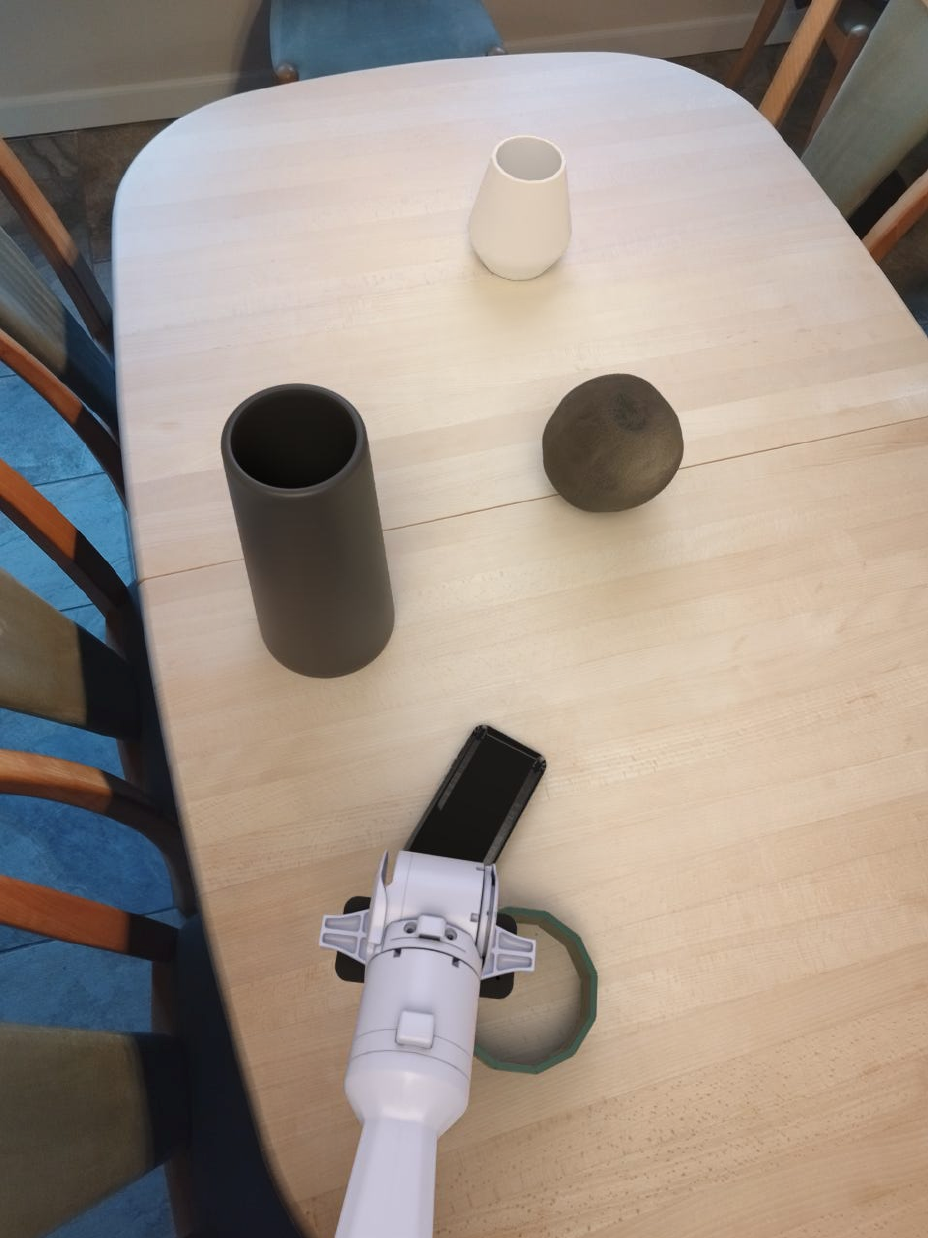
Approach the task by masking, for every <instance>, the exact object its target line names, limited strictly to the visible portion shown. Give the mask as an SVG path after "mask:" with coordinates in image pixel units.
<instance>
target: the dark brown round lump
mask: <svg viewBox="0 0 928 1238" xmlns="http://www.w3.org/2000/svg"><path fill="white" fill-rule="evenodd" d="M684 443H685V442H684V437H683V430H682V425H681V423H680V419H679V416H678V414H677V413H676V411H675V410H674V408H673V407H672V406H671V404H670V402H668V400H667V399H666V398H665V397H664V395H663V394H662V393H661V392H660V391H659V390H658V389H657V388H656V387H655V386H654V384H652V383H651V382H649V381H648V380H647V379H644V378H642V377H640V376H636V375H634V374H630V373H620V372H619V373H618V372H617V373H616V372H615V373H609V374H603V375H600V376H596V377H593V378H591V379H588V380H586V381H584V382H582V383H580V384H579V385H577V386H575V387H574V388H572V390H570V391H568V393H566V394H565V395H564V396H563V398H562V399H561V400H560V402H559V403H558V405H557V406H556V408H555V410H554V411H553V412H552V414H551V416H550V417H549V419H547V422H546V424H545V427H544V430H543V433H542V439H541V447H542V464H543V469H544V473H545V474H546V477H547V479H548V480H549V483H550V484H551V485H552V487H553V489H554V490H555V491H556V493H557V494H558V495H559V496H561V498H563V500H565V501H566V502H567V503H568V504H570V505H571V506H573V507H575V508H577V509H579V510H581V511H583V512H588V513H593V514H594V513H595V514H597V513H598V514H599V513H619V512H623V511H627V510H631V509H635V508H637V507H640V506H642V505H644V504H647V503H648V502H650V501H652V500H653V499H655V498H656V497H657V496H658V495H660V493H662V492H663V491H664V490H665V489H666V488H667V487H668V486H669V484H670V483H671V482H672V480H673V479H674V478H675V476H676V475H677V472H678V471H679V468H680V466H681V464H682V461H683V459H684V458H683V457H684V452H685V444H684Z"/></svg>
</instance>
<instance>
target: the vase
mask: <svg viewBox="0 0 928 1238" xmlns="http://www.w3.org/2000/svg"><path fill="white" fill-rule="evenodd" d="M220 437H221V438H220V454H221V458H222V463H223V464H222V465H223V469H224V473H225V478H226V482H227V487H228V491H229V497H230V501H231V506H232V510H233V514H234V519H235V524H236V528H237V532H238V533H237V534H238V537H239V538H238V539H239V542H240V546H241V551H242V556H243V560H244V561H243V562H244V564H245V570H246V572H247V573H246V574H247V578H248V583H249V588H250V592H251V597H252V601H253V604H254V610H255V615H256V618H257V623H258V627H259V631H260V635H261V638H262V640H263V643H264V645H265V647H266V649H267V651H268V652H269V653H270V655H271V656H272V657H273V658H274V659H275V660H276V661H277V662H278V663H279V664H280V665H282V666H283V667H284V668H286V669H288V670H289V671H292V672H294V673H295V674H298V675H301V676H304V677H308V678H313V679H336V678H341V677H344V676H348V675H351V674H354V673H355V672H358V671H360V670H361V669H364V668H365V667H367V666H368V665H370V664H371V663H373V661H374V660H375V659H377V658H378V657H379V655H380V654H381V653H382V652H383V651H384V649H385V648H386V646H387V645H388V643H389V640H390V639H391V637H392V635H393V634H392V633H393V630H394V626H395V605H394V596H393V591H392V584H391V578H390V571H389V565H388V558H387V552H386V545H385V538H384V532H383V525H382V519H381V513H380V506H379V499H378V493H377V492H378V491H377V487H376V480H375V473H374V469H373V462H372V454H371V450H370V443H369V438H368V437H369V436H368V431H367V427H366V424H365V421H364V419H363V417H362V415H361V414H360V412H359V411H358V409H357V408H356V407H355V405H353V404H352V403H351V402H350V401H349V400H348V399H347V398H345V397H344V396H342V395H341V394H339V393H337V392H336V391H333V390H332V389H329V388H326V387H323V386H320V385H316V384H311V383H302V382H301V383H299V382H298V383H297V382H295V383H293V382H291V383H283V384H278V385H273V386H270V387H266V388H264V389H261V390H259V391H257V392H255V393H253V394H252V395H249V397H247V398H245V399H244V400H243V401H242V402H241V403H239V404H238V405H237V406H236V407H235V408H234V409H233V411H232V412H230V415H229V416H228V417H227V419H226V421H225V423H224V425H223V428H222V432H221V436H220Z"/></svg>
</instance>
